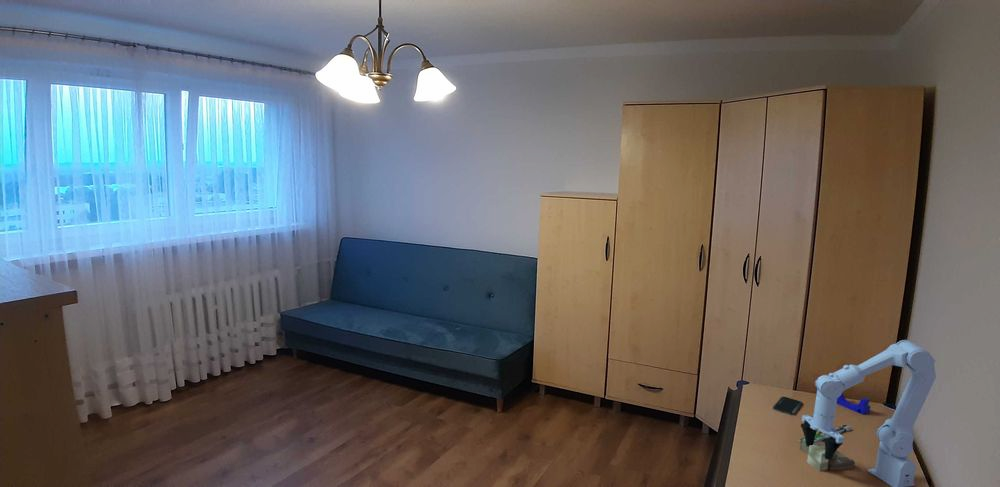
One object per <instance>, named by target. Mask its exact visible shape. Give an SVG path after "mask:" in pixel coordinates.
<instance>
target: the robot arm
mask: <svg viewBox="0 0 1000 487" xmlns="http://www.w3.org/2000/svg"><path fill="white" fill-rule="evenodd" d="M935 363H936V360H935V358H934V357H933V356H932V355H931V353H930V352H929V351H927V350H925V349H924V348H922V347H920V346H919V345H918V344H916V343H915V342H914V341H912V340H909V339H902V340H899V341H898V342H896V343H892V344H890V346H888V347H887V348H886V349H885V350H882V351H881V352H880V353H878V354H876V355H875V356H873V357H871V358H869V359H867V360H866V361H863V362H862V363H860V364H858V365H856V364H849V365H848V364H845V365H843V366H842V368H840V369H839V370H836V371H834V372H829V374H824V375H821V376H820V375H819V377H818V378H817V379H816V380H815V381H814V385H815V387H816V397H815V401H814V402H815V403H814V408H813V409H814V410H813V416H810V415H808V414H803V415H801V416H802V417H801V421H802V422H803V423H801V424H800V427H801V429H802V432H803V436H804V438H805V441H806V446H809V445H813V444H814V441H815V440H816V439H815V435H816V432H817V430H818V431H820V432H822V433H824V434H826V435H828V436H829V437H830V438H824V441H823V442H824V443H825V459H832V457H833V455H834V453H835V452H836V450H837V451H838V449H839V448H840V447H841V446H842V445H843V444H844V442H845V441H844V440H845V437H844V436H843V435H842V434H841V433H838V430H837V431H836V430H835V427H834V424H835V417H836V412H837V411H836V410H837V405H838V404H837V398H838V397H840V396H841V394H842V392H843V393H844V391H845V390H848V389H849V388H852V387H854V386H856V385H858V384H860V383H862V382H864V380H865V378H866V377H867V376H868V375H870V374H873V373H875V372H877V371H880V370H882V369H885V368H887V367H890V366H896V367H902V368H907V369H908V370H909V371H910V373H911V376H910V378H909V380H908V383H907V384H906V386H905V389H904V390H903V393H902V395H901V397H900V400H899V401H898V404H897V406H896V408H895V411H894V413H893V414H892V416H891V418H887V419H885V421H884V423H883V424H882V425H881V426H880V427H879V428H878V429H877V432H876V436H877V438H878V439H879V444H878V450H877V456H876V461H875V462H876V463H875V468H868V469H867V472H868V473H870V474H872V475H873V476H875V477H877V478H878V479H879V480H881V481H882V482H884V483H885V484H887V485H889V486H890V487H914V486H915V485H916V484H915V482H914V480H915V477H916V469H917V467H916V464H915V462H914V461H913V460H911V458H909V456H910V455H911V454H912V453H913V450H914V446H913V442H914V441H915V435H914V431H913V427H914V425H915V423H916V421H917V419H918V417H919V414H920V412H921V410H922V408H923V406H924V404H925V401H926V399H927V398H928V395H929V393H930V391H931V390H932V387H933V385H934V382H935V381H936V378H937V374H936V369H935Z"/></svg>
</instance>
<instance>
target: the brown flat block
mask: <svg viewBox="0 0 1000 487" xmlns="http://www.w3.org/2000/svg"><path fill="white" fill-rule="evenodd" d="M799 443H800V442H799ZM813 445H818V446H820V447H821V448H823V449H824V450H825V442H824V441H823V440H822V441H817V442H814V444H813ZM799 450H801V451H803V453H805V454H806V455H808V452H809V446H806V443H800V444H799ZM835 453H836V454H838V456H837V458H833V459H829V461H828V467H827V470H830V471H837V470H844V469H845V470H846V469H852V468H855V463H856V462H855V461H854V460H853V459H851V458H849V457H848V456H846V455H845V454H843V453H841V451H839V450H838V449H837V450H836V452H835Z"/></svg>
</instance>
